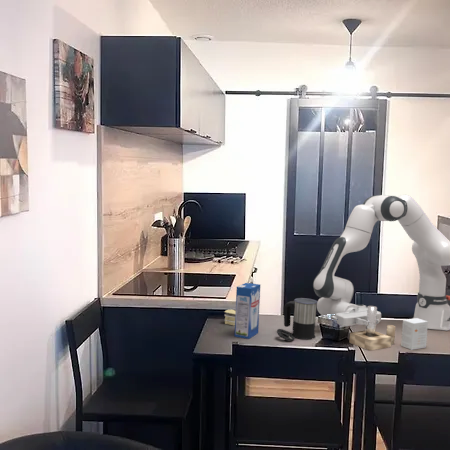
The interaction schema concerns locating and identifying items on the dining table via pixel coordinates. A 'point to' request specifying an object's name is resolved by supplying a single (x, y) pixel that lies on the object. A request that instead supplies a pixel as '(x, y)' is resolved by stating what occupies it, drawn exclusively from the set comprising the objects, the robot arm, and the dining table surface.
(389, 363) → the dining table surface
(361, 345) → the oak collar block
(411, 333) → the small box
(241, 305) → the milk carton
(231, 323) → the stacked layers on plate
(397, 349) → the dining table surface
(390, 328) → the beech stub
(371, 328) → the steel pin
